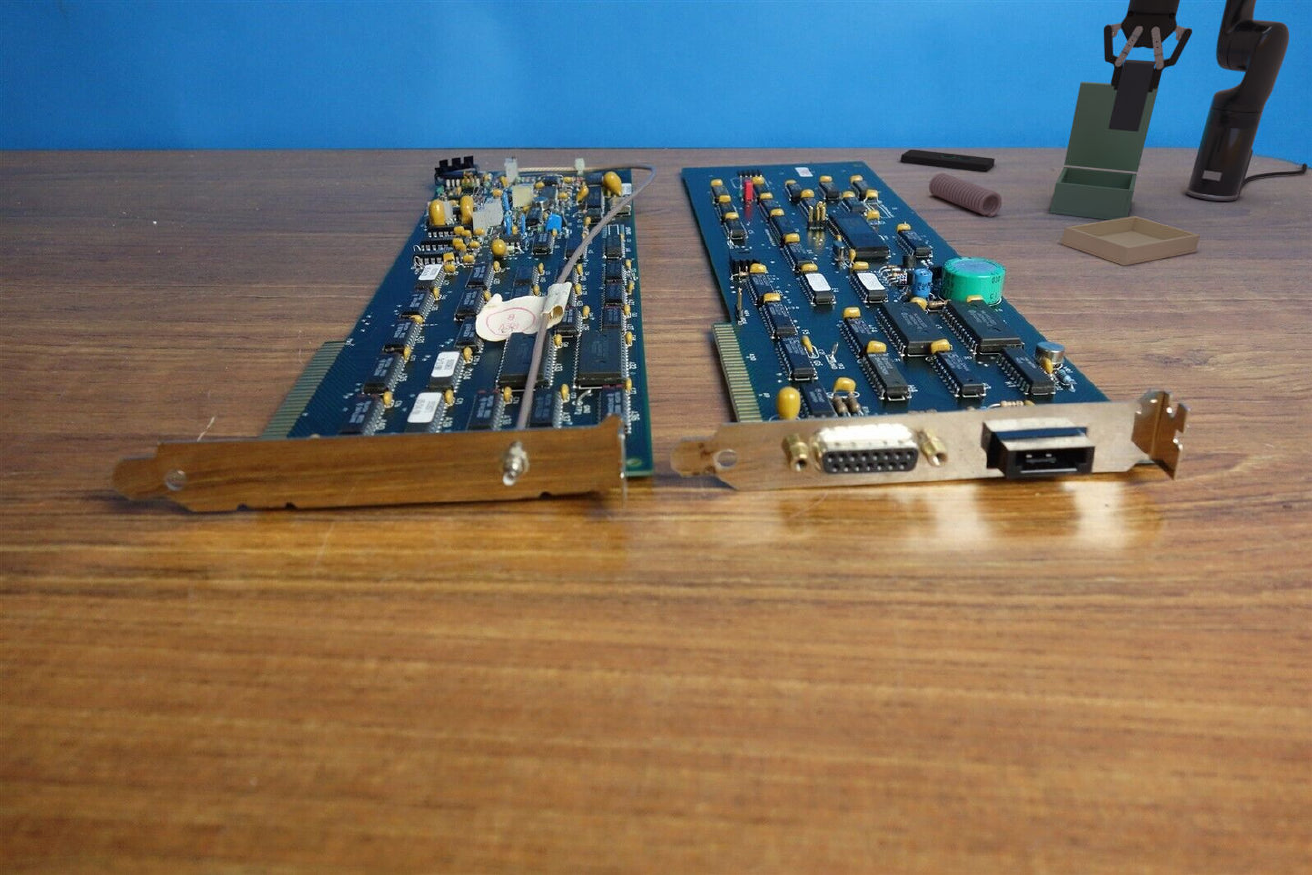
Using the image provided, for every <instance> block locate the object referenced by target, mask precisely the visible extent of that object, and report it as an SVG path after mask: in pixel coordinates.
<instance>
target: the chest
mask: <svg viewBox="0 0 1312 875" xmlns="http://www.w3.org/2000/svg"><path fill="white" fill-rule="evenodd" d="M1137 176H1138V173H1136V172H1133V173H1132V172H1125V171H1115V170H1104V169H1094V168H1082V167H1073V166H1064V167H1063V168H1062V170H1061V172H1060V174H1059V176H1058V178H1057V180H1056V182H1055V185H1054V191H1053V196H1052V201H1051V205H1050V210H1049V214H1055V215H1064V216H1072V217H1081V218H1091V219H1098V220H1099V219H1100V220H1106V221H1107V220H1113V219H1119V218H1126V217H1129V212H1130V208H1131V204H1132V200H1133V196H1134V193H1135V187H1136V182H1137Z"/></svg>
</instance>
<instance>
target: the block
mask: <svg viewBox="0 0 1312 875" xmlns="http://www.w3.org/2000/svg"><path fill="white" fill-rule="evenodd" d="M1154 68H1155V60H1141V59H1125V61H1124V63H1123V68H1122V72H1121V76H1120V81H1119V85H1118V89H1117V93H1116V98H1115V102H1114V106H1113V111H1112V115H1111V119H1110V123H1109V128H1108V129H1113V130H1124V131H1135V132H1138V130H1139V127H1140V123H1141V119H1142V115H1143V111H1144V107H1145V103H1146V99H1147V95H1148V90H1149V86H1150V82H1151V78H1152V74H1153V70H1154Z"/></svg>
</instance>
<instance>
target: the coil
mask: <svg viewBox="0 0 1312 875" xmlns="http://www.w3.org/2000/svg"><path fill="white" fill-rule="evenodd" d="M928 190H929V193H930V194H931V195H932V196H935V197H938V198H939V199H942V200H944V201H946V202H947V201H948V202H950V203H952V204H954V205H957V206H960V207H962V208H964V209H967V210H969V211H971V212H975V213H977V214H979V215H982V216H985V217H986V216H987V217H988V218H991V217H994V216H995V215H997V214H998V213H999V211H1000V210H1001V208H1002V204H1003V200H1002V196H1001V194H1000V193H998V192H996V191H993V190H991V189H988V188H985V187H983V186H980V185H978V184H974V183H972V182H969V181H966V180H963V179H961V178H958V177H955V176H953V175H950V174H946V173H944V172H940V173H937V174H935V175H934V176H933V177H932V178H931V179H930V181H929V184H928Z"/></svg>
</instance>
